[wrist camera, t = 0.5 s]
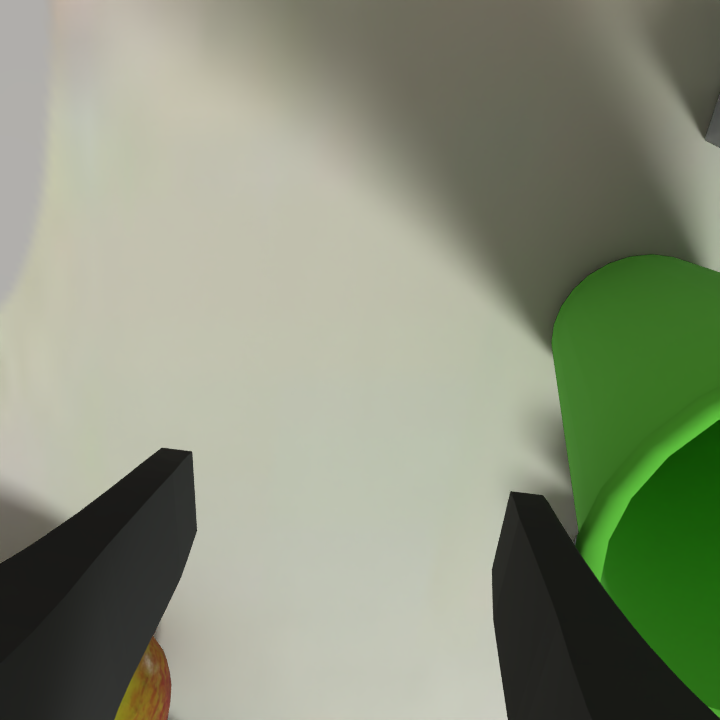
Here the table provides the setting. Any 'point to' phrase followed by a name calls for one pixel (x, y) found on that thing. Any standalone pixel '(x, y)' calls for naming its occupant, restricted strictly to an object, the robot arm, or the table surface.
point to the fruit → (148, 688)
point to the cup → (649, 450)
